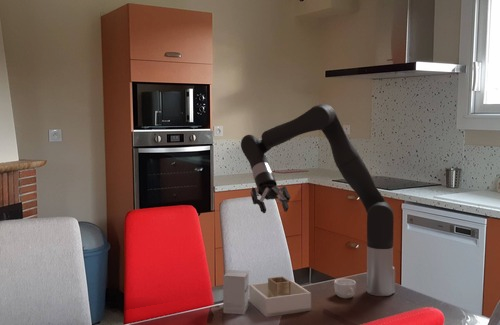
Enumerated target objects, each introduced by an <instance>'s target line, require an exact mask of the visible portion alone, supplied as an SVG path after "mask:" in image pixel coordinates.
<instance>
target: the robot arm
mask: <svg viewBox="0 0 500 325" xmlns="http://www.w3.org/2000/svg"><path fill="white" fill-rule="evenodd" d="M315 131H322V133H323V135H324V136H325V138H326V139H327V141H328V142H329V145H330V148H331V153H332V157H333V160H334V164H335V166H336V168H337V169H338V171H339V172H340V174H341V176H342V177H343V179H344V181H345V183H347V184H348V186H349V187H350V188H351V189H352V190H353V191H354V192H355V193H356V194H357V196H358V198H359V200H360V201H361V203H362V205H363V207H364V209H365V212H366V213H367V214H366V243H367V244H366V293H367V294H369V295H372V296H375V297H376V296H377V297H388V296H391V295H393V294H395V292H396V267H395V266H394V226H395V225H394V220H395V219H394V218H395V217H394V210H393V208H392V207H391V206H390V204H389V203H388V201H387V200H386V199H385V198H384V196H383V195H382V193H381V192H380V190H379V189H378V187H377V186H376V185H375V182H374V179H373V178H372V175H371V173H370V171H369V169H368V167H367V166H366V163H365V162H364V161H363V159H362V158H361V155H360V154H359V152H358V151H357V149H356V148H355V146H354V144H353V143H352V141H351V139H350V137H349V136H348V135H347V133H346V132H345V129H344V128H343V125H342V123H341V121H340V119H339V117H338V114H337V113H336V111H335V109H334V108H333V107H332V106H331V105H330V104H326V103H321V104H317V105H314V106H312V107H311V108H310V109H308V110H307V111H306V112H305V111H304V113H302V114H301V115H299V116H298V117H296V118H294V119H292V120H290V121H286V122H284V123H282V124H279V125H276V126H273V127H272V128H270V129H267V130H264V131H263V132H262V134H261V139H259V138H257V137H256V136H255V135H252V134H246V135H244V136H243V137H242V138H241V141H240V148H241V151H242V153H243V154H244V156H245V159H247V161H248V163H249V166H250V168H251V169H250V170H251V171H252V172H251V173H252V177H253V180H254V182H255V186H256V188H255V187H252V188H251V191H250V195H251V199H252V200H251V201H252V204H253V205H258V206H259V209H260V212H261V213H262V214H266V212H267V208H266V205H265V202H264V200H267V201H268V200H275V201H277V202H278V203H281V206H282V208H283V212H284V213H287V212H288V210H289V208H290V207H289V204H288V203H289V202H290V200H291V195H290V194H289V191H288V189H287V187H286V186H285V185H283V186H282V187H279V186H278V185H277V181H276V178H275V175H274V173H273V170H272V167H271V166H270V164H269V161H268V159H267V158H268V157H267V156H266V155H265V154H266V153H268V151H270V150H271V149H272V148H275V147H277V146H279V145H282V144H284V143H286V142H288V141H290V140H293V139H294V138H295V137H297V136H300V135H304V134H306V133H311V132H315ZM258 194H259V195H260V198H258Z"/></svg>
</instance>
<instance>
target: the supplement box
mask: <svg viewBox="0 0 500 325" xmlns="http://www.w3.org/2000/svg"><path fill="white" fill-rule="evenodd" d="M249 274H250V273H249V271H248V270H235V269H233V270H232V269H229V270H227V271H226V272H225V274H224V275H223V277H222V280H223V282H222V284H223V286H222V291H223V292H222V294H223V298H222V299H223V300H222V302H223V305H222V307H223V311H222V312H223V314H229V315H230V314H231V315H232V314H233V315H245V314H246V312H247V309H248V308H249V307H250V306H249V304H250V302H249V284H250V280H249Z"/></svg>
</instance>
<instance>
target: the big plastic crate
mask: <svg viewBox="0 0 500 325" xmlns="http://www.w3.org/2000/svg"><path fill="white" fill-rule="evenodd" d="M288 280H289V281H290V282H291V295H285V296H278V297H270V298H268V281H266V282H259V283H249V303H250V304H252V306H254V307H255V308H256V309H257V310H258V311H259V313H261V314H262V315H263V316H265V318H270V317H275V316H283V315H290V314H297V313H305V312H310V311H312V293H311V292H310V291H309V290H307V289H306V288H304V287H303V286H301V285H300V284H298V283H296V282H295V281H293V280H292V279H288Z"/></svg>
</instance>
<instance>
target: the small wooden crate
mask: <svg viewBox="0 0 500 325" xmlns="http://www.w3.org/2000/svg"><path fill="white" fill-rule="evenodd" d="M289 280H290V279H288V278H286V277H284V276H276V277H269V278H268V277H267V282H268V298H270V297H278V296H285V295H291V282H290V281H289Z"/></svg>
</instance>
